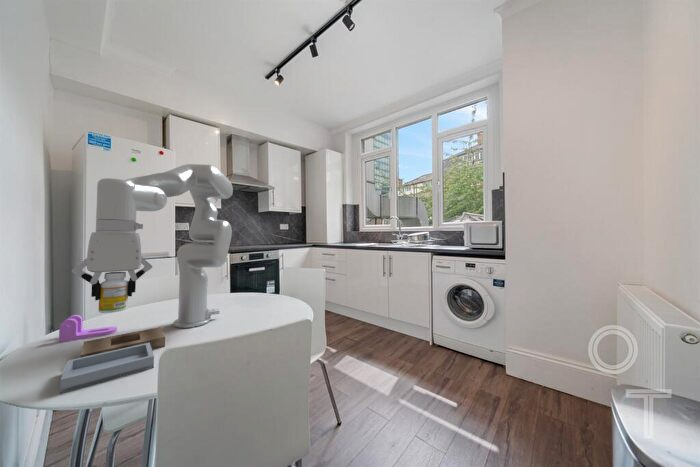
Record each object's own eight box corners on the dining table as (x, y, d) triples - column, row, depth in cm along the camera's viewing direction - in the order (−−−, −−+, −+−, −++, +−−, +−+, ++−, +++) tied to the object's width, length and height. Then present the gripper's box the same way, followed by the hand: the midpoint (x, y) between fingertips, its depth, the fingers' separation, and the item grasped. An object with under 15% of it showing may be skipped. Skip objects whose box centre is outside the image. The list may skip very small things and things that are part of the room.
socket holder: (160, 335, 85) (160, 326, 85) (165, 346, 77) (165, 336, 77) (83, 351, 72) (84, 341, 72) (79, 366, 64) (80, 355, 64)
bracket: (58, 342, 78) (59, 320, 78) (66, 336, 83) (67, 315, 83) (114, 334, 85) (115, 314, 85) (118, 329, 90) (119, 310, 90)
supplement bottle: (105, 308, 65) (107, 271, 65) (131, 306, 67) (132, 271, 67) (93, 314, 60) (95, 274, 60) (121, 312, 62) (124, 273, 62)
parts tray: (149, 352, 72) (149, 342, 73) (153, 367, 65) (153, 356, 65) (67, 372, 61) (67, 360, 61) (60, 393, 53) (60, 379, 54)
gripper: (156, 228, 72) (154, 290, 72) (68, 226, 60) (65, 299, 60) (160, 228, 67) (157, 295, 67) (63, 225, 55) (60, 306, 55)
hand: (114, 296), depth 63 cm, fingers closed on supplement bottle, 5 cm apart
